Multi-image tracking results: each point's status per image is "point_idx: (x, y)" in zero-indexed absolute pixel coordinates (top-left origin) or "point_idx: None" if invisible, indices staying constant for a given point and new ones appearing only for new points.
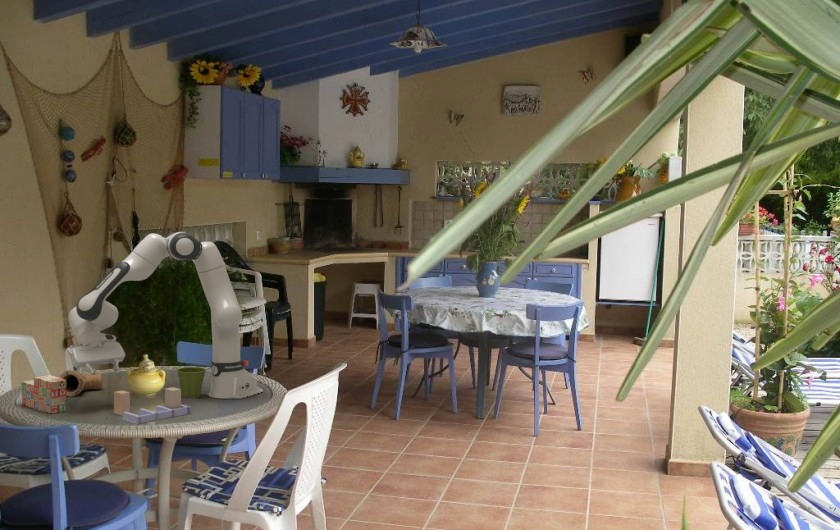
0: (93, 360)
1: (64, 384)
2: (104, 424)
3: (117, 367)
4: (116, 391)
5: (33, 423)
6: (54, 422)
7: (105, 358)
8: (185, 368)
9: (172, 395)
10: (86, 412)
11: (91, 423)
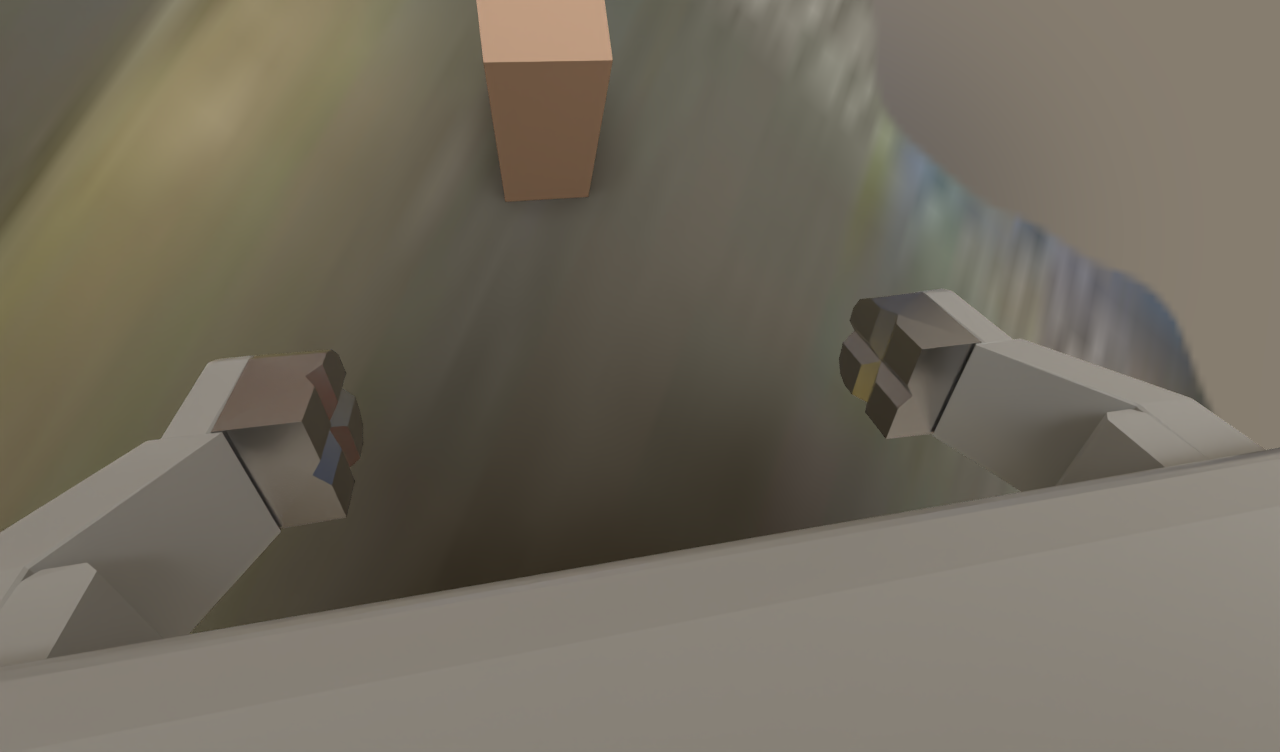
0: (1096, 486)
1: None
2: (748, 9)
3: (239, 378)
4: (577, 55)
5: (1125, 364)
6: (1008, 298)
7: (548, 586)
8: None
9: None
10: (725, 460)
11: (812, 97)
